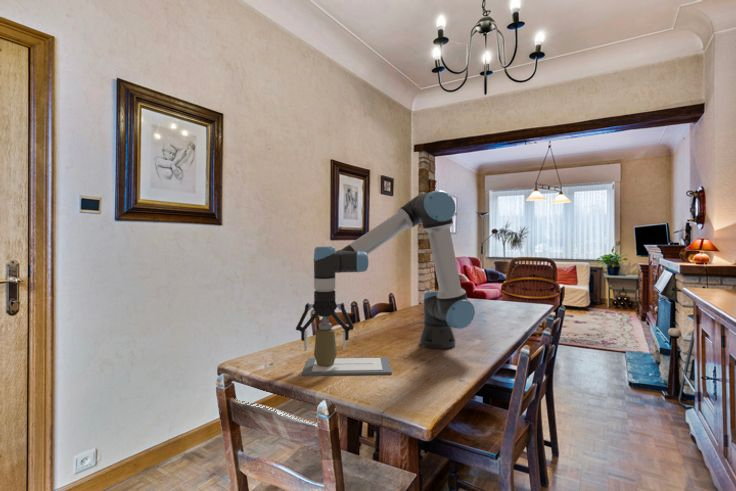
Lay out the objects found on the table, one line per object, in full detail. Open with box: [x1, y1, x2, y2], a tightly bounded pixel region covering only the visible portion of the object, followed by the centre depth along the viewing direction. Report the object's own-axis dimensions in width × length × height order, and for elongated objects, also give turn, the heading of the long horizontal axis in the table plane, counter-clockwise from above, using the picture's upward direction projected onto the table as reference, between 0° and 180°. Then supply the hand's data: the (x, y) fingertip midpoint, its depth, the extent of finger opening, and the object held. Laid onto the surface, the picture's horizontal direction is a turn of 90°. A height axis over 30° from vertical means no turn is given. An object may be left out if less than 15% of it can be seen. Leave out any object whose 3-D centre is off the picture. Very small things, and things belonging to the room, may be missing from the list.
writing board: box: [301, 356, 393, 377], centre depth 137 cm, size 30×16×1 cm, turn 92°
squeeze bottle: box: [313, 316, 338, 366], centre depth 137 cm, size 8×8×18 cm
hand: (325, 349), depth 137 cm, fingers open, 13 cm apart
